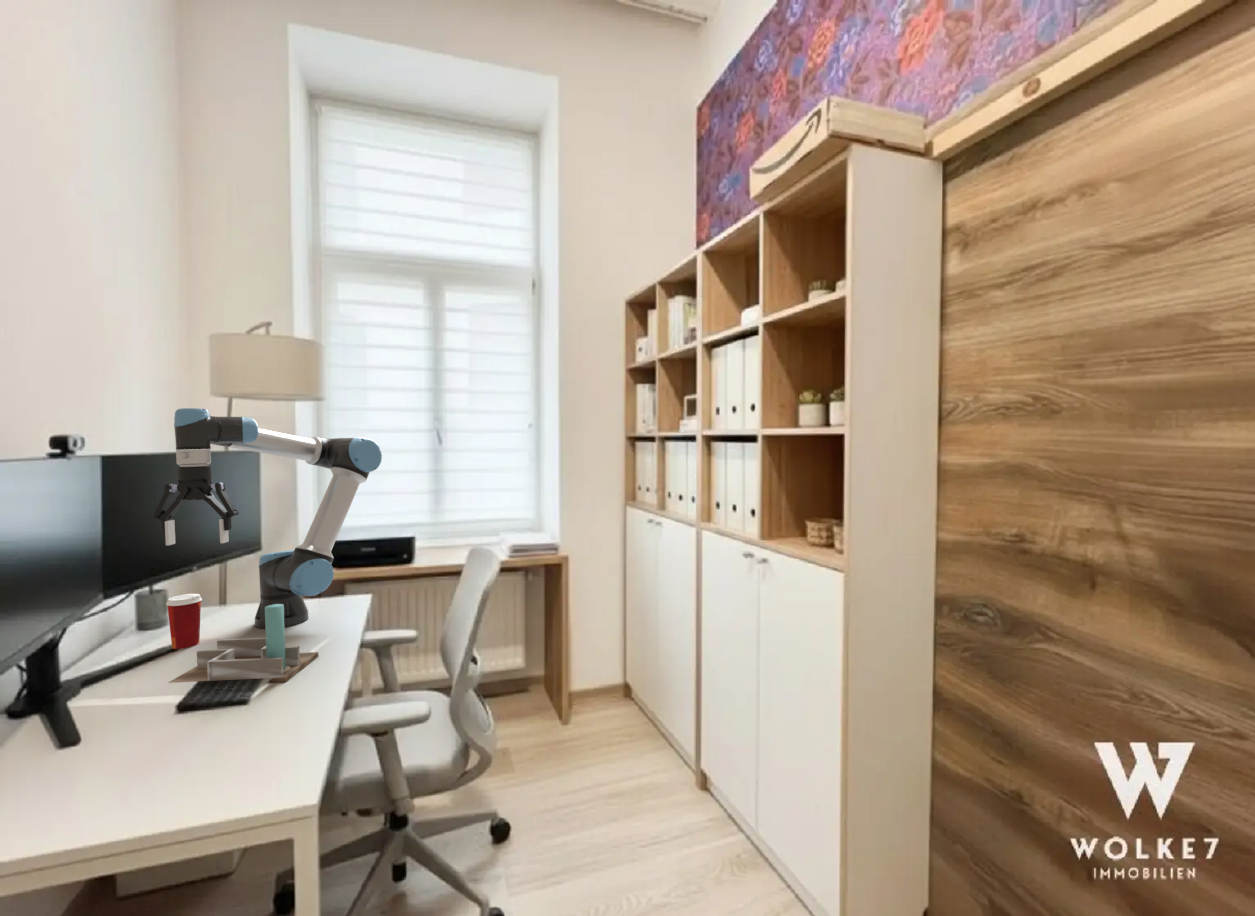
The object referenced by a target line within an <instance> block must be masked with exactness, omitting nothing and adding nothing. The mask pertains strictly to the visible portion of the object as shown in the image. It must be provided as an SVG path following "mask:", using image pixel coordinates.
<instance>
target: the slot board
mask: <svg viewBox="0 0 1255 916" xmlns="http://www.w3.org/2000/svg"><path fill="white" fill-rule="evenodd" d="M216 647H217V648H215V649H198V650H197V651H196V662H197V663H196V664H197V665H196V666H195V667H193V668H191V669H190V670H188V671H185V672H184V673H182V674H180V675H179V676H177V677H175V678H173V679H171V680H170V681H168V683H188V682H190V683H191V682H206V681H207V682H212V681H213V682H214V681H216V682H217V681H233V680H234V681H235V680H236V681H237V680H239V681H240V680H257V679H258V680H259V679H260V680H261V679H269V680H268V681H266V684H273V683H274V684H275V683H277V684H278V683H287V682H288V681H289V680H290V679H292V678H293V677H295V676H296V675H297V674H298V673H299V672H301V671H302V670H303V669H305V668H306V667H307V666H308V665H310V664H311V663H312V662H313V661H315V660H316V659H317V658H318V657H319V652H318V651H315V652H313V651H312V652H300V646H299V645H295V646H294V645H293V646H292V645H291V646H285V664H286V669H285V670H283V658H266V637H249V638H247V637H246V638H226V639H218V640H216Z"/></svg>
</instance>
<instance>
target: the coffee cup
mask: <svg viewBox="0 0 1255 916" xmlns="http://www.w3.org/2000/svg"><path fill="white" fill-rule="evenodd" d="M202 601H203V598H202V597H201V594H199V593H185V594H179V595H175V596H171V597H169V598H168V600H167V602H166V603H165V605H166V606H167V614H168V623H169V632H170V640H171V641H170V642H171V648H172V649H175V650H181V649H183V650H184V649H188V648H191V647H195V646H197V645H199V644H200V636H201V634H200V633H201V609H202V608H201V607H202Z"/></svg>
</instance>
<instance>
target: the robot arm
mask: <svg viewBox="0 0 1255 916" xmlns="http://www.w3.org/2000/svg"><path fill="white" fill-rule="evenodd" d="M173 419H174V420H173V421H174V422H173V423H174V424H173V427H174V436H175V456H176V465H178V467H177V468H176V479H177V484H175V483H167V484H165V485H164V493H163V495H162V496H161V499H160V501H159V503H158V504H157V507H156V509H155V511H154V513H153V516H152V519H154V520H159V521H160V522H161V531H162V533H163V534H164V533H165V534H164V535H165V546H172V545H175V544H176V530H175V529H176V527H175V519H173V517H174V516H175V515H176V513H177V512H178V511H179V510H180V509H181V507H183V505H184V504H185V503H186V502H187V501H193V500H195V501H201V500H203V501H204V502H205V503H207V504H208V505H209V506H210V507H211V508H212V509H213V510H214V511H215V512H216V513H217V514H218V515H219V516H220V517H221V518H220V519H218V522H219V523H218V524H219V542H220V544H226V543H229V541H230V540H229V539H230V538H229V531H230V530H232V518H233V517H235V516H238V515H239V513H240V512H239V511H238V508H237V506H236V505H235V504H234V502H233V500H232V497H230V495H229V493H228V491H227V490H226V484H225V483H224V482H220V481H219V482H216V483H213V482H212V479H213V477H212V475H213V474H212V472H213V471H212V466H211V465H210V464H211V463H212V456H211V455H212V453H211V445H215V446H219V447H227V448H232V449H239V450H244V451H249V452H254V453H262V454H266V455H270V456H271V455H272V456H278V457H283V458H290V459H295V460H302V461H305V463H306V464H307V465H313V466H316V467H321V468H325V469H329V470H330V472H331V473H332V476H331V479H330V482H329V484H328V486H327V488H326V491H325V493H324V495H323V498H322V500H321V502H320V504H319V506H318V509H317V511H316V513H315V515H314V517H313V519H312V523H311V524H310V527H309V528H308V531H307V534H306V535H305V538H304V541H303V542H302V544H301V543H300V544H299V545H297V546H296V547H295V548H294V549H291V550H290V549H289V550H283V551H276V552H275V551H274V552H269V553H264V554H261V556H260V557H259V562H258V570H259V571H258V572H259V573H258V574H259V575H258V576H259V595H260V596H259V597H260V600H259V604H258V607H257V611H256V614H255V617H254V627H256V628H259V629H265V607H266V606H269V605H274V604H283V605H284V628H285V627H289V626H294V625H298V624H300V623H303V622H306V621H307V620H308V619H309V610H308V607H307V605H306V603H305V599H304V598H303V597H314V596H317V595H320V594H322V593H323V592H325V591H326V590H327V589H328V588H329V587H330V585H331V584H332V582H333V580H334V576H335V570H334V567H333V565H332V564H333V561H334V555H333V553H332V550H333V548H334V546H335V543H336V540H337V538H338V536H339V533H340V532H341V529H342V527H343V524H344V521H345V519H346V517H347V515H348V512H349V510H350V507H351V506H352V503H353V500H354V498H355V496H356V494H357V491H358V488H359V486H360V484H363V483H366V481H367V480H368V477H369V474H370V473H371V472H374V471H375V470H377V469H379V467H380V466H381V463H382V459H383V455H382V450H381V448H380V446H379V444H378V443H377V442H376V441H375V440H373V439H371V438H368V437H363V436H362V437H361V436H356V437H337V438H325V437H323V438H322V437H318V436H313V437H311V438H308V437H304V436H298V435H293V434H288V433H284V432H278V431H275V430H274V431H273V430H271V429H270V430H269V429H265V428H259V425H258V422H257V421H256V419H255V418H253V417H248V416H213V415H211V414H210V412H209V410H208V409H207V408H198V407H195V408H193V407H192V408H189V407H187V408H184V407H183V408H178V409H176V410H175V412H174V418H173ZM212 490H214V491H215V493H216V495H217V496H218V499H219V500H220V501H219V500H218V499H217V498H216V496H215V495H214V494H213V492H212ZM176 492H179V494H178V495H177V496H176V498H175V500H174V501H173V503H171V502H172V500H173V499H174V496H175V494H176Z"/></svg>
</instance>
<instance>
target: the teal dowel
mask: <svg viewBox="0 0 1255 916" xmlns="http://www.w3.org/2000/svg"><path fill="white" fill-rule="evenodd" d="M264 629H265V638H266V658H283V670H285V669H286V664H285V647H286V640H285V639H286V637H285V636H286V635H285V634H286V633H285V627H284V605H283V604H274V605H269V606H266V607H265V628H264Z"/></svg>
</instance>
